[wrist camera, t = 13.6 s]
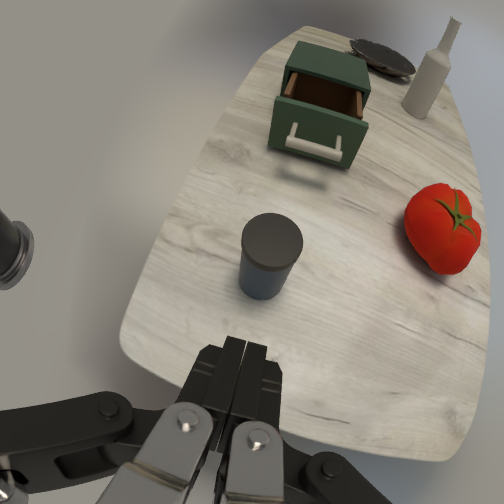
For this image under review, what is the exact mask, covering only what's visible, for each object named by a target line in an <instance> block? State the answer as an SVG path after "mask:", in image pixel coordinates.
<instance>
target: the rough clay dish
mask: <svg viewBox="0 0 504 504" xmlns="http://www.w3.org/2000/svg"><path fill="white" fill-rule="evenodd" d="M349 42H350V45H351V47H352V49H353V50H354V51H355V52H356V53H357V54H356V55H357V56H358V57H359V58H361V59H364V60H366V63H367V64H368V65H370V66H371V67H373V68H375V69H376V70H378V71H379V72H381V73H384V74H388V75H390V76H392V77H404V76H409V75H413V74H415V72H416V70H415V68H414V66H413V64H412V63H411V62H410V61H408V60H407V59H406V58H405V57H404V56H402V55H400V54H399V53H398V52H396V51H394V50H392V49H390V48H389V47H386V46H384V45H380V44H377V43H372V41H367V40H365V39H356V40H355V41H353V40H350V41H349Z"/></svg>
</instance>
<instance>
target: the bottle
mask: <svg viewBox="0 0 504 504" xmlns="http://www.w3.org/2000/svg"><path fill="white" fill-rule="evenodd" d="M450 18H451V19H450V21H449V24H448V26H447V29H446V31H445V33H444V35H443V37H442V39H441V41H440V43H439V45H438V47H437V48H436V49H433V50H430V51H428V52H426V54H425V56H424V58H423V61H422V63H421V65H420V67H419V69H418V71H417V73H416V75H415V78H414V80H413V82H412V84H411V86H410V88H409V90H408V92H407V94H406V96H405V98H404V100H403V102H402V107H403V108H404V109H405V110H406V111H407V112H408V113H409V114H411V115H412V116H414V117H416V118H418V119H424V118H425V116H426V115H427V113H428V111H429V109H430V108H431V106H432V104H433V102H434V100H435V98H436V96H437V95H438V93H439V91H440V89H441V87H442V85H443V83H444V81H445V79H446V77H447V75H448V73H449V71H450V69H451V65H450V61H449V57H448V55H449V52H450V49H451V47H452V44H453V41H454V39H455V37H456V34H457V32H458V29H459V27H460V25H461V24H462V23H461V22H459V21H458V20H456V19H455V18H453V17H450Z"/></svg>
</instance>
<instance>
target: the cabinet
mask: <svg viewBox="0 0 504 504" xmlns="http://www.w3.org/2000/svg"><path fill="white" fill-rule="evenodd" d="M293 71H295V72H299V73H303V74H307V75H311V76H315V77H318V78H322V79H325V80H329V81H332V82H335V83H339V84H342V85H345V86H348V87H351V88H354V89H357V90H359V91H361V97H362V112H363V109H364V107H365V104H366V102H367V99H368V97H369V94H370V92H371V87H370V81H369V75H368V69H367V64H366V60H364V59H361V58H358V57H355V56H352V55H349V54H346V53H343V52H339V51H336V50H333V49H329V48H326V47H322V46H318V45H315V44H311V43H306V42H302V41H298V42H297V44H296V46H295V48H294V50H293V52H292V53H291V55H290V57H289V59H288V61H287V63H286V65H285V70H284V76H283V82H282V87H281V93H280V96H281V97H283V95H284V92H285V90H286V87H287V85H288V83H289V80H290V78H291V76H292V73H293Z"/></svg>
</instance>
